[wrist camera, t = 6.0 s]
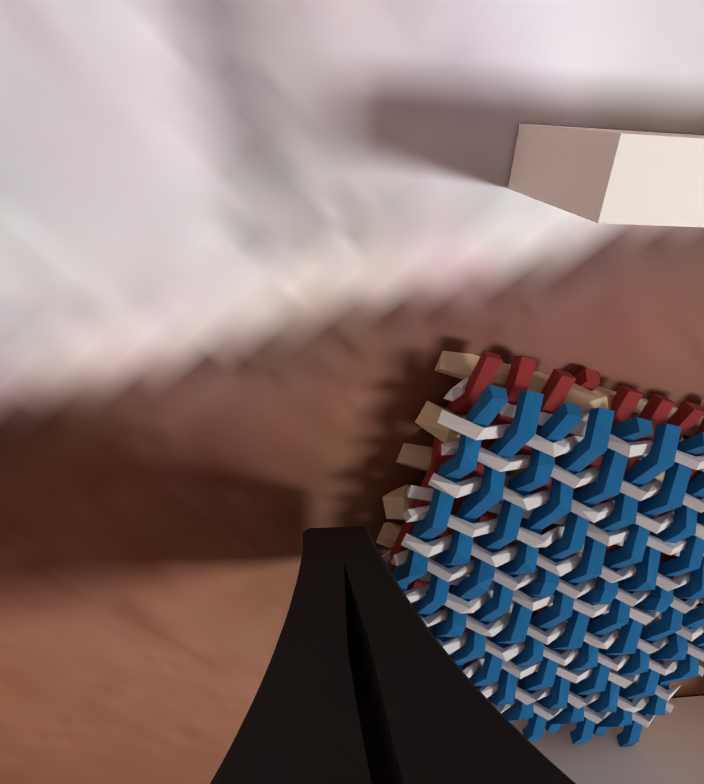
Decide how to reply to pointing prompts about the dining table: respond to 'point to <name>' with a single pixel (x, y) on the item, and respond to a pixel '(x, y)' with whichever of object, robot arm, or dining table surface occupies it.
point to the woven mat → (556, 543)
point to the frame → (638, 207)
